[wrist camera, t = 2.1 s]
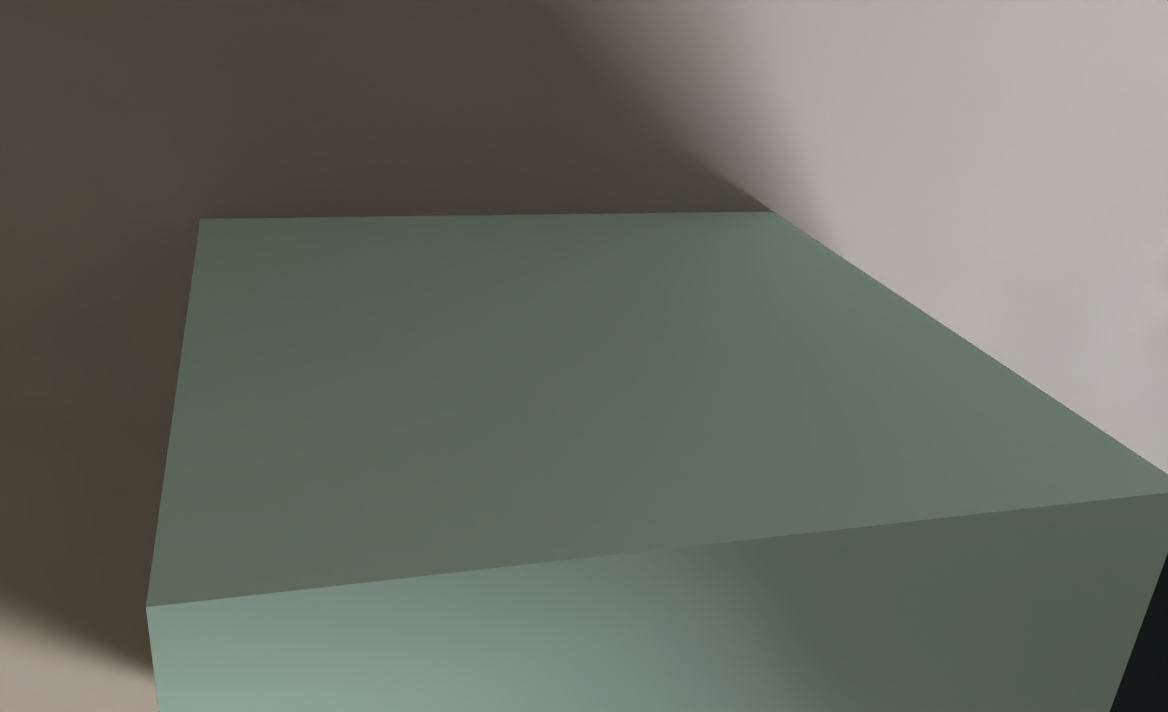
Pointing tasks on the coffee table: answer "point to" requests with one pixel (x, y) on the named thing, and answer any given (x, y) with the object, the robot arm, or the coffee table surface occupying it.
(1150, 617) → the robot arm
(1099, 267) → the coffee table surface
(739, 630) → the sage block
